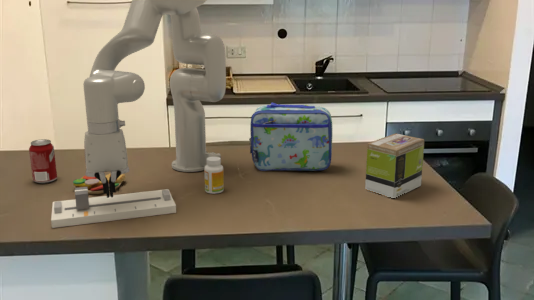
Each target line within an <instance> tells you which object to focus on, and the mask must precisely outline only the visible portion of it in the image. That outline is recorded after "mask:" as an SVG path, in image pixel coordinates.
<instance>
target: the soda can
mask: <svg viewBox="0 0 534 300" xmlns="http://www.w3.org/2000/svg"><path fill="white" fill-rule="evenodd" d="M28 152H29V160H30V167H31V176H32V181H33V182H35V183H38V184H49V183H52V182H54V181H55V180H57V179H58V172H57V171H58V169H57V162H56V154H55V147H54V145H53V144H52V140H50V139H47V138H46V139H45V138H44V139H35V140H32V141H31V142H30V146H29V147H28Z"/></svg>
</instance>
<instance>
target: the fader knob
mask: <svg viewBox="0 0 534 300" xmlns="http://www.w3.org/2000/svg"><path fill="white" fill-rule="evenodd" d="M74 197H75V199H76V209H77V210H80V209H89V199H88V198H89V194H88V188H87V187H79V188H76V187H75V188H74Z"/></svg>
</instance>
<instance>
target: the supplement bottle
mask: <svg viewBox="0 0 534 300" xmlns="http://www.w3.org/2000/svg"><path fill="white" fill-rule="evenodd" d="M221 163H222V157H221V158H220V157H208V158H207V164H208V165H206V166H205V168H204V170H203V171H204V173H203V174H204V191H205V192H206V193H208V194H211V195H213V194H215V195H216V194H220V193H223V192H224V188H225V185H224V184H225V183H224V181H225V180H224V175H225V174H224V166H223V165H222V164H221Z"/></svg>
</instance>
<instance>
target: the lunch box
mask: <svg viewBox="0 0 534 300" xmlns="http://www.w3.org/2000/svg"><path fill="white" fill-rule="evenodd" d="M249 125H250V134H249V135H250V137H249V154H251V159H252V162H253V164H254V167H255V168H256V169H257V170H259V171H260V172H261V171H263V172H266V171H297V172H299V171H301V172H302V171H303V172H304V171H305V172H306V171H311V172H313V171H318V172H319V171H325V170H327V169H329V167H330V166H331V163H332V155H333V154H332V153H333V119H332V114H331V112H330V110H329V109H327V108H326V107H324V106H320V105H313V104H282V103H281V104H277V103H276V102H271V103H270V104H264V105H260V106H258V107H257V108H256V109H255V111H254V112H253V113H252V114H251V118H250V124H249Z"/></svg>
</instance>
